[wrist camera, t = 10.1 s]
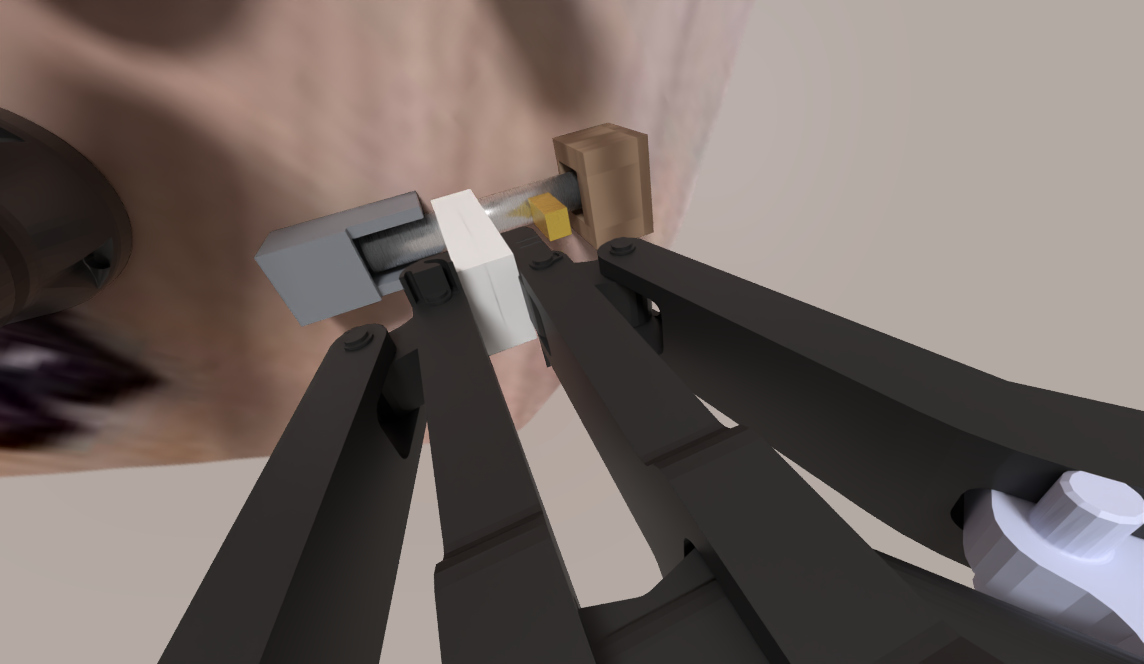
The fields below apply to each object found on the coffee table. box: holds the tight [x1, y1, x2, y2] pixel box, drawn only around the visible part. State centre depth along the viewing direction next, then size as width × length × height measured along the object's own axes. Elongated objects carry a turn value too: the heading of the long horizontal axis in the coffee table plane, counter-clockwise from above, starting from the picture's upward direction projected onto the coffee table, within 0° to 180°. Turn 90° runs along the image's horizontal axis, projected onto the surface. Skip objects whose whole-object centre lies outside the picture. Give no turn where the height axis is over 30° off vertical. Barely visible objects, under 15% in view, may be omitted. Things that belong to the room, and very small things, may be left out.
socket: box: [553, 123, 654, 250], centre depth 41 cm, size 6×9×8 cm, turn 10°
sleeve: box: [254, 191, 440, 326], centre depth 38 cm, size 13×7×6 cm, turn 101°
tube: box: [358, 170, 582, 273], centre depth 38 cm, size 22×4×9 cm, turn 101°
